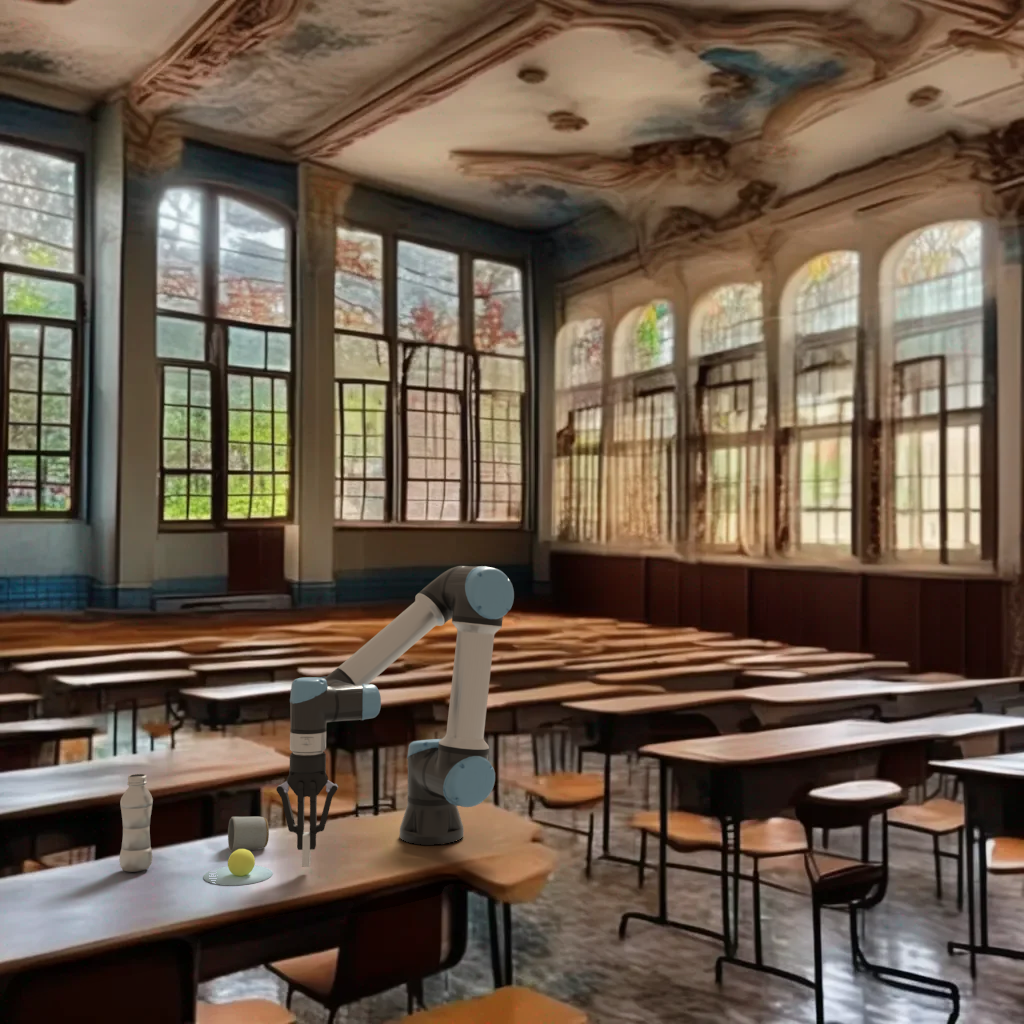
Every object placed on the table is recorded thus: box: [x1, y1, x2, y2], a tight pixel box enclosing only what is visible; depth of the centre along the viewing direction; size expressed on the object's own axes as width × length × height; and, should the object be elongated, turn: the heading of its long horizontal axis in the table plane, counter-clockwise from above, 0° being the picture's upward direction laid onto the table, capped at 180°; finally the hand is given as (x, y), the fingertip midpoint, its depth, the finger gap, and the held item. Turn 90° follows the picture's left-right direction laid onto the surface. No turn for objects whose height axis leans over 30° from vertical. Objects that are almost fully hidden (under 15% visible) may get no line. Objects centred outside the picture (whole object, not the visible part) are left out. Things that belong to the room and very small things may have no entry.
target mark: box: [203, 865, 274, 887], centre depth 232 cm, size 14×14×1 cm
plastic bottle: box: [119, 773, 154, 873], centre depth 235 cm, size 6×7×20 cm
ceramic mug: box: [227, 816, 270, 853], centre depth 253 cm, size 11×8×8 cm
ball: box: [227, 849, 256, 876], centre depth 231 cm, size 6×6×6 cm
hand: (306, 864), depth 233 cm, fingers closed
